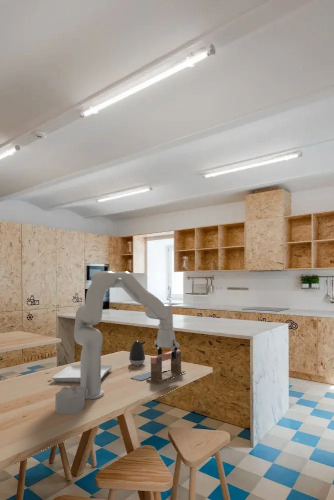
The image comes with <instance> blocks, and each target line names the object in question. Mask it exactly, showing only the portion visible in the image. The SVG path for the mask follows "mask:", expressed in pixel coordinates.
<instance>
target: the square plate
mask: <svg viewBox="0 0 334 500" xmlns="http://www.w3.org/2000/svg"><path fill="white" fill-rule="evenodd" d="M113 367H114V365H111V364H110V365H109V364H101V379H102V378H103V377H104V376H105V375H106V374H107V373H108V372H110V370H111V371H112V368H113ZM80 369H81V364H72V365H71V364H70V365H68V366H67V367H65V368H63V369H62V370H60V371H59V372H57V373H56V374H55V375H53V376H52V377H51V379H52V380H53V381H56V382H63V383H80Z"/></svg>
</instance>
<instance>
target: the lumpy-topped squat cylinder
mask: <svg viewBox="0 0 334 500" xmlns="http://www.w3.org/2000/svg"><path fill="white" fill-rule="evenodd" d="M85 400H86V399H85V389H84V388H83V387H81V386H80V385H74V384H73V385H70V387H67V386H63V387H61V389H60V390H59V391H57V392H56V393H55V402H54V403H55V405H54V407H55V409H54V410H55V411H54V412H55V413H56V414H61V415H67V416H68V415H75V414H77V413H79V412H81V411H82V410H83V409H85V407H86V405H85V403H86V402H85Z"/></svg>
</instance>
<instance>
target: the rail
mask: <svg viewBox="0 0 334 500" xmlns="http://www.w3.org/2000/svg"><path fill="white" fill-rule="evenodd" d="M179 351H181V352H182V350H181V349H178V350H177V351H176V357H177V352H179ZM160 357H162V362H165V361H168V360H171V358H172V350H170V351H168V352H164V353H163V352H162V354H160V355H158V354H157V355H154V356H153V355H152V356H150V364H151V363H153V364H156V363H157V358H160Z"/></svg>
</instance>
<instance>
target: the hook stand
mask: <svg viewBox="0 0 334 500" xmlns="http://www.w3.org/2000/svg"><path fill="white" fill-rule="evenodd" d="M162 363H163V361H162V357H160V358H157V363H156V364H153V363H151V362H150V371H151V378H148V379H146V382H147V383H150V382H151V384H154V383H156V385H160V384H163V383H165V382H167V380H168V381H170V380H172V379H171V378H173V377H175V378H177V377H179V376H178V375H180V374H182V373H184V372H185V373H186V371H185V370H182V350H181V351H179V352H177V357H176V358H175V359H172V358H171V359H170V369H171V370H169V371H167V372H164V373H162V368H163V364H162ZM182 375H183V374H182ZM176 376H177V377H176ZM180 376H181V375H180ZM169 379H170V380H169ZM173 379H174V378H173ZM164 381H165V382H164ZM162 382H163V383H162Z"/></svg>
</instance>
